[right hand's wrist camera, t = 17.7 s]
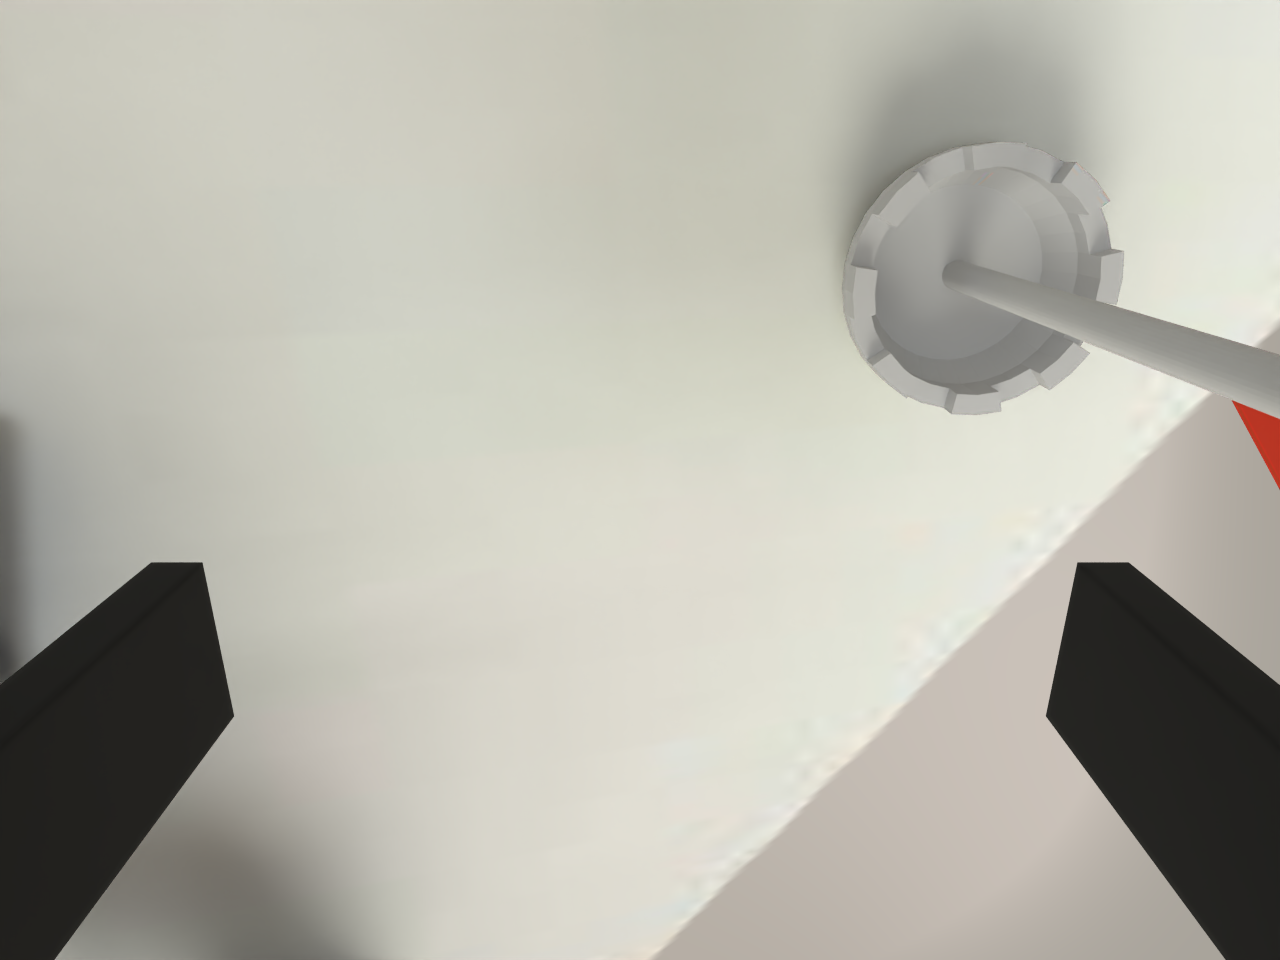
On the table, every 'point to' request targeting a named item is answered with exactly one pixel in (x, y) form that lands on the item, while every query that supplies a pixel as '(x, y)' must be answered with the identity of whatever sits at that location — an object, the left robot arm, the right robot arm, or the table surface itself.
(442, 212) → the table surface
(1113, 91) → the table surface
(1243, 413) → the flag stand
